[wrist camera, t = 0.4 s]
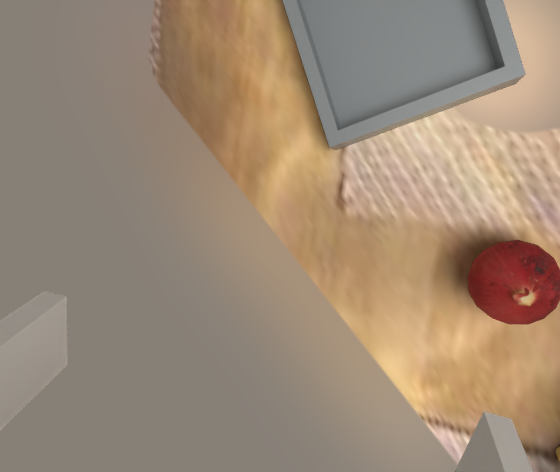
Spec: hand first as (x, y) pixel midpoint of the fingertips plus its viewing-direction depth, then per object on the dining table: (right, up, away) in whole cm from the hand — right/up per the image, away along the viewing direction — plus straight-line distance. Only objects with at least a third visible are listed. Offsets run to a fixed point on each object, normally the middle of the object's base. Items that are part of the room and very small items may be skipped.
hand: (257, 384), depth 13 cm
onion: (+18, +2, +20) cm, 27 cm away
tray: (+10, +21, +20) cm, 30 cm away
